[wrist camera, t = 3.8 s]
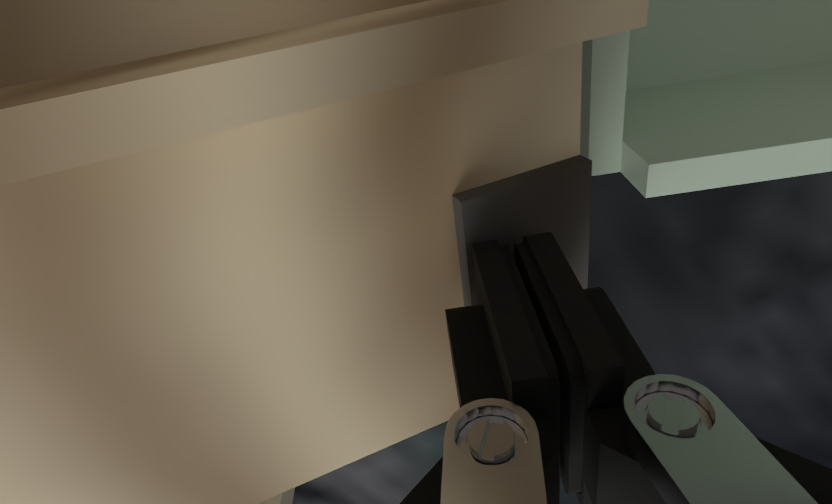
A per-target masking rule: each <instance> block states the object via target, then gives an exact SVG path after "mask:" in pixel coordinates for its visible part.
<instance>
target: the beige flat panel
mask: <svg viewBox="0 0 832 504" xmlns="http://www.w3.org/2000/svg"><path fill="white" fill-rule="evenodd" d="M648 3H649V0H0V504H258V503H260V502H262V501H265V500H267V499H269V498H271V497H274V496H276V495H278V494H281V493H283V492H285V491H287V490H290V489H292V488H294V487H297V486H299V485H301V484H303V483H306V482H308V481H310V480H313V479H315V478H317V477H319V476H322V475H324V474H326V473H329V472H331V471H333V470H335V469H338V468H340V467H342V466H345V465H347V464H349V463H352V462H354V461H356V460H358V459H361V458H363V457H365V456H368V455H370V454H372V453H374V452H377V451H379V450H381V449H384V448H386V447H388V446H390V445H393V444H395V443H397V442H400V441H402V440H404V439H406V438H409V437H411V436H413V435H416V434H418V433H420V432H422V431H425V430H427V429H429V428H432V427H434V426H436V425H438V424H441V423H443V422H445V421H448V420H449V419H450V418H451V417H452V415H453V414H454V412H456V411H457V410H458V409H460V407H459V401H458V395H457V389H456V383H455V377H454V370H453V364H452V357H451V350H450V344H449V336H448V329H447V322H446V314H445V309H451V308H458V307H465V306H472V305H477V304H476V293H475V283H474V273H473V262H472V252H471V243H477V242H484V241H491V240H498V243H499V245H500V246H504V245H509V247H510V250H511V252H512V255H513V257H514V245H515V244H517V243H523V237H524V235H531V234H538V233H545V232H551V233H552V234H553V236H554V238H555V240H556V241H557V243H558V245H559V247H560V249H561V250H562V252H563V254H564V256H565V257H566V259H567V261H568V263H569V265H570V266H571V268H572V270H573V272H574V274H575V275H576V277H577V279H578V281H579V283H580V284H581V286H582V288H583V289H587V285H588V258H589V231H590V204H591V177H592V160H590V159H588V158H586V157H584V156H581V155H580V123H581V81H582V42H583V41H587V40H591V39H595V38H599V37H603V36H608V35H612V34H616V33H620V32H624V31H628V30H632V29H636V28H640V27H644V26H647V15H648ZM514 260H515V258H514Z"/></svg>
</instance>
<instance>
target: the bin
mask: <svg viewBox="0 0 832 504" xmlns="http://www.w3.org/2000/svg"><path fill="white" fill-rule="evenodd" d="M580 155H581V156H584V157H586V158H588V159H590V160H592V176H595V175H602V174H609V173H616V172H621V173H622V174H623V175H624V176H625V177H626V178H627V179H628V180H629V181H630V182H631V183H632V184H633V185H634V187H635V188H636V189H637V190H638V191H639V192H640V193H641V194H642V195H643V196H644V197H645V198H650V197H656V196H663V195H670V194H677V193H684V192H691V191H698V190H705V189H712V188H719V187H725V186H732V185H739V184H746V183H753V182H760V181H767V180H774V179H781V178H788V177H794V176H801V175H808V174H815V173H822V172H829V171H832V0H649V3H648V15H647V26H644V27H640V28H636V29H632V30H628V31H624V32H620V33H616V34H612V35H608V36H603V37H599V38H595V39H591V40H587V41H583V42H582V81H581V123H580Z"/></svg>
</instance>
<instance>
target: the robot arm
mask: <svg viewBox="0 0 832 504" xmlns="http://www.w3.org/2000/svg"><path fill="white" fill-rule="evenodd" d="M471 252H472V262H473V273H474V283H475V293H476V304H477V305H472V306H465V307H458V308H451V309H445V314H446V322H447V329H448V336H449V344H450V350H451V357H452V364H453V370H454V377H455V383H456V389H457V395H458V401H459V407H460V409H458V410H457V411H456V412H454V414H453V415H452V417H451V418H450V419H449V421H448V422H447V426H446V430H445V434H444V450H443V457H442V458H441V459H440V460H439V461H438V462H437V463H436V465H435V466H434V467H433V468H432V469H431V470H430V471H429V472H428V473H427V474H426V475H425V477H424V478H423V479H422V480H421V481H420V482H419V483H418V484H417V485H416V486H415V488H414V489H413V490H412V491H411V492H410V493H409V494H408V495H407V496H406V497H405V499H404V500H403V501H402V502H401V503H400V504H559V493H560V477H561V480H562V483H563V486H564V489H565V491H566V493H567V494H571V493H576V494H577V497H578V499H579V502H580V504H832V469H829V468H827V467H825V466H822V465H820V464H818V463H815V462H813V461H810V460H808V459H806V458H803V457H801V456H799V455H796V454H794V453H791V452H789V451H787V450H784V449H782V448H780V447H777V446H775V445H772V444H770V443H768V442H765V441H763V440H761V439H758V438H756V437H755V436H754V435H753V434H752V433H751V432H750V431H749V430H748V429H747V428H746V427H745V426H744V425H743V424H742V423H741V422H740V420H739V419H738V418H737V417H736V416H735V415H734V414H733V413H732V412H731V411H730V410H729V409H728V408H727V407H726V406H725V405H724V404H723V402H722V401H721V400H720V399H719V398H718V397H717V396H716V395H714V394H713V393H712V392H711V391H710V390H708V389H707V388H706V387H705V386H703V385H701V384H699V383H697V382H695V381H693V380H691V379H687V378H684V377H680V376H677V375H667V374H657V375H656V374H655V373H654V371H653V370H652V368H651V366H650V365H649V363H648V361H647V360H646V358H645V356H644V355H643V353H642V352H641V350H640V348H639V347H638V345H637V343H636V342H635V340H634V339H633V337H632V335H631V334H630V332H629V330H628V329H627V327H626V325H625V324H624V322H623V321H622V319H621V317H620V316H619V314H618V312H617V311H616V309H615V307H614V306H613V304H612V303H611V301H610V299H609V298H608V296H607V294H606V293H605V292H604V290H603V289H602V288H600V287H596V288H589V289H583V288H582V286H581V284H580V283H579V281H578V279H577V277H576V275H575V274H574V272H573V270H572V268H571V266H570V265H569V263H568V261H567V259H566V257H565V256H564V254H563V252H562V250H561V249H560V247H559V245H558V243H557V241H556V240H555V238H554V236H553V234H552V233H551V232H545V233H538V234H531V235H524V237H523V243H517V244H515V245H514V257H513V255H512V252H511V250H510V247H509V245H504V246H500V245H499V243H498V240H491V241H484V242H477V243H471ZM514 258H515V260H514Z"/></svg>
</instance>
